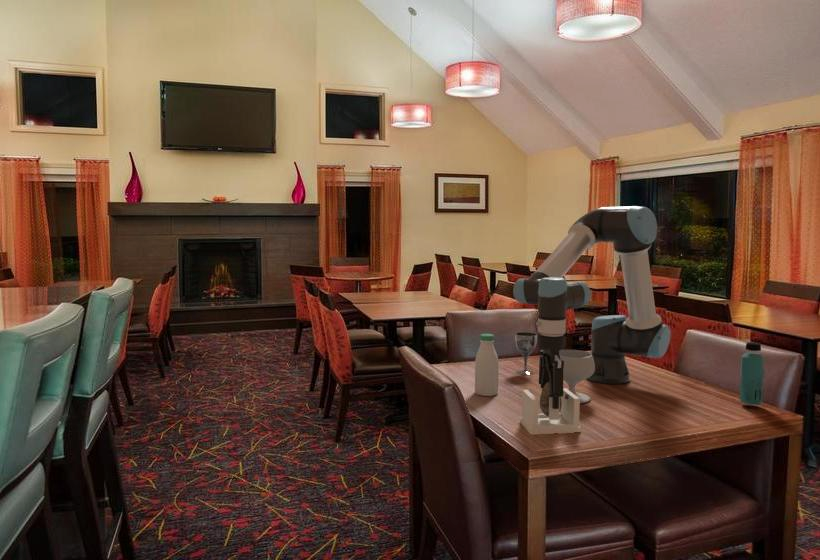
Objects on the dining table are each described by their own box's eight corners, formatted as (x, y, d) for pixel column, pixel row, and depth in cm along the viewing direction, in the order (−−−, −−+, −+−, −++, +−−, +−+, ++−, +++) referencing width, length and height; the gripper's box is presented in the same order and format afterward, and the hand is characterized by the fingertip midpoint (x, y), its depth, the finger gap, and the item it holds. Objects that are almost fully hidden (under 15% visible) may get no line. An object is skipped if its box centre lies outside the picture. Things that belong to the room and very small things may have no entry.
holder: (567, 420, 172) (568, 388, 171) (580, 432, 162) (581, 398, 161) (520, 422, 171) (520, 389, 170) (530, 434, 161) (531, 400, 160)
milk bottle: (497, 397, 195) (498, 337, 193) (473, 396, 196) (474, 336, 194) (498, 390, 202) (499, 332, 200) (475, 389, 204) (476, 332, 202)
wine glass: (539, 371, 227) (539, 333, 226) (531, 376, 221) (532, 336, 219) (519, 369, 232) (520, 331, 230) (511, 373, 225) (512, 334, 223)
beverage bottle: (754, 410, 180) (757, 345, 178) (733, 404, 186) (736, 341, 184) (767, 407, 183) (771, 343, 181) (746, 401, 189) (750, 339, 187)
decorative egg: (560, 420, 162) (560, 385, 161) (538, 418, 165) (538, 383, 163) (562, 413, 168) (563, 379, 167) (541, 411, 170) (541, 377, 169)
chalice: (545, 392, 200) (546, 348, 199) (587, 392, 200) (588, 348, 198) (554, 405, 186) (555, 358, 185) (599, 405, 186) (600, 358, 184)
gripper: (528, 327, 173) (526, 405, 175) (549, 341, 154) (548, 427, 156) (553, 327, 174) (551, 404, 176) (577, 340, 155) (575, 426, 157)
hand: (549, 415), depth 166 cm, fingers closed on decorative egg, 6 cm apart
